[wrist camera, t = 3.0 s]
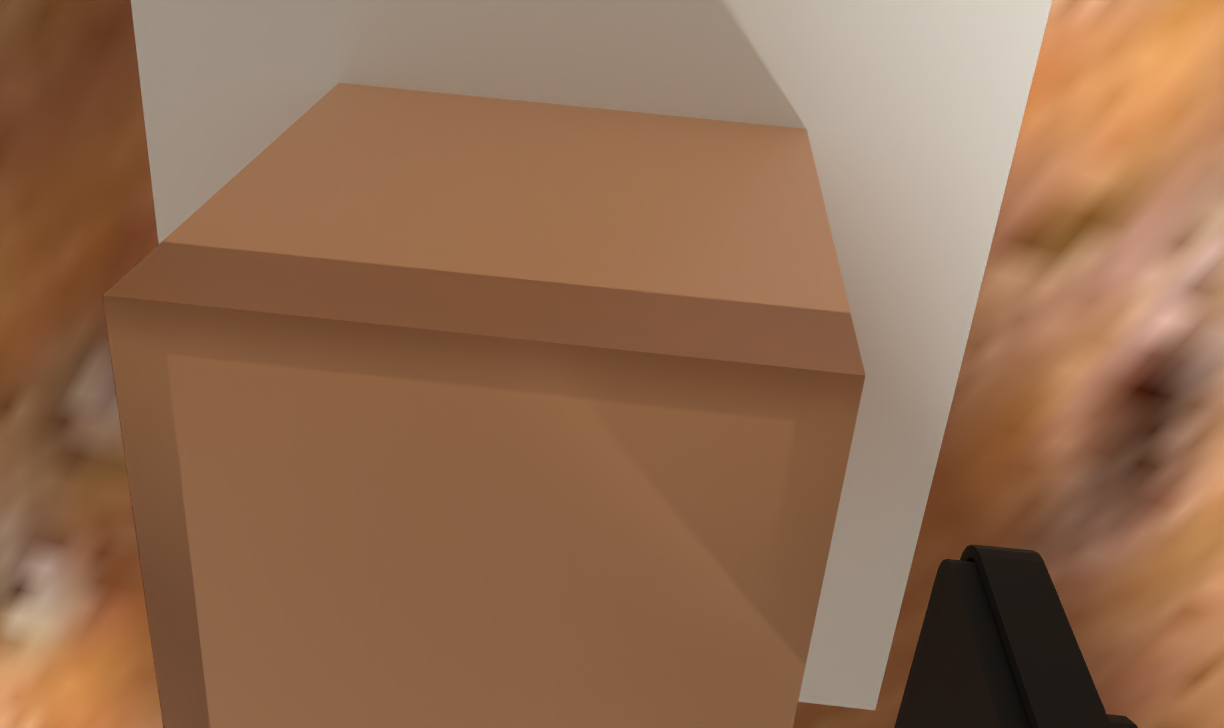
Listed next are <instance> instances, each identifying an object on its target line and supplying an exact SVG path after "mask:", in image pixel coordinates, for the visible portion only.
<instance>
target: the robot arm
mask: <svg viewBox="0 0 1224 728" xmlns="http://www.w3.org/2000/svg"><path fill="white" fill-rule="evenodd" d="M895 728H1138V727H1137V726H1136V724H1134V723H1133V722H1132V721H1131V720H1130V719H1128V718H1127V717H1126V716H1117V715H1107V714H1106V712H1105V710H1104V707H1103V705H1102V702H1101V700H1100V697H1099V695H1098V692H1097V690H1096V688H1095V685H1094V683H1093V680H1092V678H1091V675H1090V673H1089V670H1088V668H1087V666H1086V663H1085V661H1084V658H1083V656H1082V653H1081V651H1080V649H1079V646H1078V644H1077V641H1076V639H1075V636H1074V634H1073V631H1072V629H1071V627H1070V624H1069V622H1068V619H1067V617H1066V614H1065V612H1064V609H1063V607H1062V605H1061V602H1060V600H1059V597H1058V595H1057V592H1056V590H1055V588H1054V585H1053V583H1052V580H1051V578H1050V575H1049V573H1048V570H1047V568H1046V566H1045V563H1044V561H1043V559H1042V558H1041V556H1040V554H1038V553H1037V552H1035V551H1031V550H1021V549H1011V548H1000V547H990V546H980V545H970V546H967V548H966V549H965V550H964V552H963V554H962V556H961V559H960V560H950V559H945V560H943V561H942V563H941V564H940V566H939V569H938V572H937V575H936V578H935V582H934V586H933V589H932V593H931V597H930V600H929V604H928V608H927V611H926V615H925V618H924V622H923V626H922V629H921V633H920V637H919V640H918V644H917V648H916V651H915V655H914V659H913V662H912V666H911V669H910V673H909V677H908V680H907V684H906V688H905V691H904V695H903V699H902V702H901V706H900V709H899V713H898V717H897V720H896V724H895Z"/></svg>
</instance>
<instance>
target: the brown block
mask: <svg viewBox="0 0 1224 728" xmlns="http://www.w3.org/2000/svg"><path fill="white" fill-rule="evenodd" d="M102 298H103V305H104V312H105V319H106V326H107V333H108V340H109V347H110V354H111V361H112V368H113V375H114V382H115V389H116V396H117V403H118V410H119V418H120V425H121V432H122V439H123V446H124V453H125V460H126V467H127V474H128V481H129V488H130V495H131V502H132V509H133V516H134V523H135V530H136V537H137V545H138V552H139V559H140V566H141V573H142V580H143V587H144V594H145V601H146V608H147V615H148V622H149V629H150V636H151V643H152V650H153V657H154V664H155V672H156V679H157V686H158V693H159V700H160V707H161V714H162V721H163V728H793V725H794V720H795V715H796V710H797V705H798V700H799V695H800V691H801V686H802V681H803V676H804V671H805V666H806V661H807V657H808V652H809V647H810V642H811V637H812V632H813V628H814V623H815V618H816V613H817V608H818V603H819V598H820V594H821V589H822V584H823V579H824V574H825V569H826V564H827V560H828V555H829V550H830V545H831V540H832V535H833V531H834V526H835V521H836V516H837V511H838V506H839V501H840V497H841V492H842V487H843V482H844V477H845V472H846V468H847V463H848V458H849V453H850V448H851V443H852V438H853V434H854V429H855V424H856V419H857V414H858V409H859V404H860V400H861V395H862V390H863V385H864V380H865V371H864V367H863V363H862V359H861V355H860V350H859V346H858V342H857V338H856V334H855V330H854V325H853V321H852V317H851V313H850V309H849V304H848V300H847V296H846V292H845V288H844V284H843V279H842V275H841V271H840V267H839V263H838V258H837V254H836V250H835V246H834V242H833V238H832V233H831V229H830V225H829V221H828V217H827V212H826V208H825V204H824V200H823V196H822V192H821V187H820V183H819V179H818V175H817V171H816V166H815V162H814V158H813V154H812V150H811V146H810V141H809V137H808V133H807V129H802V128H792V127H782V126H772V125H762V124H751V123H741V122H731V121H721V120H711V119H701V118H691V117H681V116H670V115H660V114H650V113H640V112H630V111H620V110H610V109H599V108H589V107H579V106H569V105H559V104H549V103H539V102H529V101H518V100H508V99H498V98H488V97H478V96H468V95H458V94H447V93H437V92H427V91H417V90H407V89H397V88H387V87H377V86H366V85H356V84H346V83H338V84H337V85H336V86H335V87H333V88H332V89H331V90H330V91H329V92H328V93H327V94H326V95H325V96H323V97H322V98H321V99H320V100H319V101H318V102H317V103H316V104H315V105H313V106H312V107H311V108H310V109H309V110H308V111H307V112H306V113H305V114H303V115H302V116H301V117H300V118H299V119H298V120H297V121H296V122H294V123H293V124H292V125H291V126H290V127H289V128H288V129H287V130H286V131H284V132H283V133H282V134H281V135H280V136H279V137H278V138H277V139H276V140H274V141H273V142H272V143H271V144H270V145H269V146H268V147H267V148H266V149H264V150H263V151H262V152H261V153H260V154H259V155H258V156H257V157H255V158H254V159H253V160H252V161H251V162H250V163H249V164H248V165H247V166H245V167H244V168H243V169H242V170H241V171H240V172H239V173H238V174H237V175H235V176H234V177H233V178H232V179H231V180H230V181H229V182H228V183H227V184H225V185H224V186H223V187H222V188H221V189H220V190H219V191H218V192H216V193H215V194H214V195H213V196H212V197H211V198H210V199H209V200H208V201H206V202H205V203H204V204H203V205H202V206H201V207H200V208H199V209H198V210H196V211H195V212H194V213H193V214H192V215H191V216H190V217H189V218H188V219H186V220H185V221H184V222H183V223H182V224H181V225H180V226H179V227H177V228H176V229H175V230H174V231H173V232H172V233H171V234H170V235H169V236H167V237H166V238H165V239H164V240H163V241H162V242H161V243H160V244H159V245H157V246H156V247H155V248H154V249H153V250H152V251H151V252H150V253H149V254H147V255H146V256H145V257H144V258H143V259H142V260H141V261H140V262H139V263H137V264H136V265H135V266H134V267H133V268H132V269H131V270H130V271H128V272H127V273H126V274H125V275H124V276H123V277H122V278H121V279H120V280H118V281H117V282H116V283H115V284H114V285H113V286H112V287H111V288H110V289H108V290H107V291H106V292H105V293H104V294H103V295H102Z"/></svg>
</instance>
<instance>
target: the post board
mask: <svg viewBox="0 0 1224 728" xmlns="http://www.w3.org/2000/svg"><path fill="white" fill-rule="evenodd" d="M1051 3H1052V0H131V7H132V16H133V25H134V34H135V42H136V51H137V60H138V69H139V78H140V86H141V95H142V104H143V113H144V121H145V130H146V139H147V148H148V157H149V165H150V174H151V183H152V192H153V200H154V209H155V218H156V227H157V235H158V244H160V243H161V242H162V241H163V240H164V239H165V238H166V237H167V236H169V235H170V234H171V233H172V232H173V231H174V230H175V229H176V228H177V227H179V226H180V225H181V224H182V223H183V222H184V221H185V220H186V219H188V218H189V217H190V216H191V215H192V214H193V213H194V212H195V211H196V210H198V209H199V208H200V207H201V206H202V205H203V204H204V203H205V202H206V201H208V200H209V199H210V198H211V197H212V196H213V195H214V194H215V193H216V192H218V191H219V190H220V189H221V188H222V187H223V186H224V185H225V184H227V183H228V182H229V181H230V180H231V179H232V178H233V177H234V176H235V175H237V174H238V173H239V172H240V171H241V170H242V169H243V168H244V167H245V166H247V165H248V164H249V163H250V162H251V161H252V160H253V159H254V158H255V157H257V156H258V155H259V154H260V153H261V152H262V151H263V150H264V149H266V148H267V147H268V146H269V145H270V144H271V143H272V142H273V141H274V140H276V139H277V138H278V137H279V136H280V135H281V134H282V133H283V132H284V131H286V130H287V129H288V128H289V127H290V126H291V125H292V124H293V123H294V122H296V121H297V120H298V119H299V118H300V117H301V116H302V115H303V114H305V113H306V112H307V111H308V110H309V109H310V108H311V107H312V106H313V105H315V104H316V103H317V102H318V101H319V100H320V99H321V98H322V97H323V96H325V95H326V94H327V93H328V92H329V91H330V90H331V89H332V88H333V87H335V86H336V85H337V84H338V83H346V84H356V85H366V86H377V87H387V88H397V89H407V90H417V91H427V92H437V93H447V94H458V95H468V96H478V97H488V98H498V99H508V100H518V101H529V102H539V103H549V104H559V105H569V106H579V107H589V108H599V109H610V110H620V111H630V112H640V113H650V114H660V115H670V116H681V117H691V118H701V119H711V120H721V121H731V122H741V123H751V124H762V125H772V126H782V127H792V128H802V129H807V133H808V137H809V141H810V146H811V150H812V154H813V158H814V162H815V166H816V171H817V175H818V179H819V183H820V187H821V192H822V196H823V200H824V204H825V208H826V212H827V217H828V221H829V225H830V229H831V233H832V238H833V242H834V246H835V250H836V254H837V258H838V263H839V267H840V271H841V275H842V279H843V284H844V288H845V292H846V296H847V300H848V304H849V309H850V313H851V317H852V321H853V325H854V330H855V334H856V338H857V342H858V346H859V350H860V355H861V359H862V363H863V367H864V371H865V380H864V385H863V390H862V395H861V400H860V404H859V409H858V414H857V419H856V424H855V429H854V434H853V438H852V443H851V448H850V453H849V458H848V463H847V468H846V472H845V477H844V482H843V487H842V492H841V497H840V501H839V506H838V511H837V516H836V521H835V526H834V531H833V535H832V540H831V545H830V550H829V555H828V560H827V564H826V569H825V574H824V579H823V584H822V589H821V594H820V598H819V603H818V608H817V613H816V618H815V623H814V628H813V632H812V637H811V642H810V647H809V652H808V657H807V661H806V666H805V671H804V676H803V681H802V686H801V691H800V695H799V700H798V702H805V703H814V704H823V705H832V706H840V707H849V708H858V709H867V710H875V709H876V705H877V701H878V697H879V693H880V689H881V685H882V681H883V677H884V673H885V669H886V665H887V661H888V657H889V653H890V649H891V645H892V641H893V637H894V633H895V629H896V625H897V621H898V617H899V613H900V609H901V605H902V601H903V597H904V593H905V589H906V585H907V581H908V577H909V573H910V569H911V565H912V561H913V557H914V553H915V549H916V545H917V541H918V537H919V532H920V528H921V524H922V520H923V516H924V512H925V508H926V504H927V500H928V496H929V492H930V488H931V484H932V480H933V476H934V472H935V468H936V464H937V460H938V456H939V452H940V448H941V444H942V440H943V436H944V432H945V428H946V424H947V420H948V416H949V412H950V408H951V404H952V400H953V396H954V392H955V388H956V384H957V380H958V376H959V372H960V368H961V364H962V360H963V356H964V352H965V348H966V344H967V340H968V336H969V332H970V328H971V324H972V320H973V316H974V312H975V308H976V304H977V300H978V296H979V292H980V288H981V284H982V280H983V276H984V272H985V268H986V264H987V260H988V256H989V252H990V248H991V244H992V240H993V236H994V232H995V228H996V224H997V220H998V216H999V212H1000V208H1001V204H1002V200H1003V196H1004V192H1005V188H1006V184H1007V180H1008V176H1009V172H1010V167H1011V163H1012V159H1013V155H1014V151H1015V147H1016V143H1017V139H1018V135H1019V131H1020V127H1021V123H1022V119H1023V115H1024V111H1025V107H1026V103H1027V99H1028V95H1029V91H1030V87H1031V83H1032V79H1033V75H1034V71H1035V67H1036V63H1037V59H1038V55H1039V51H1040V47H1041V43H1042V39H1043V35H1044V31H1045V27H1046V23H1047V19H1048V15H1049V11H1050V7H1051Z"/></svg>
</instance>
